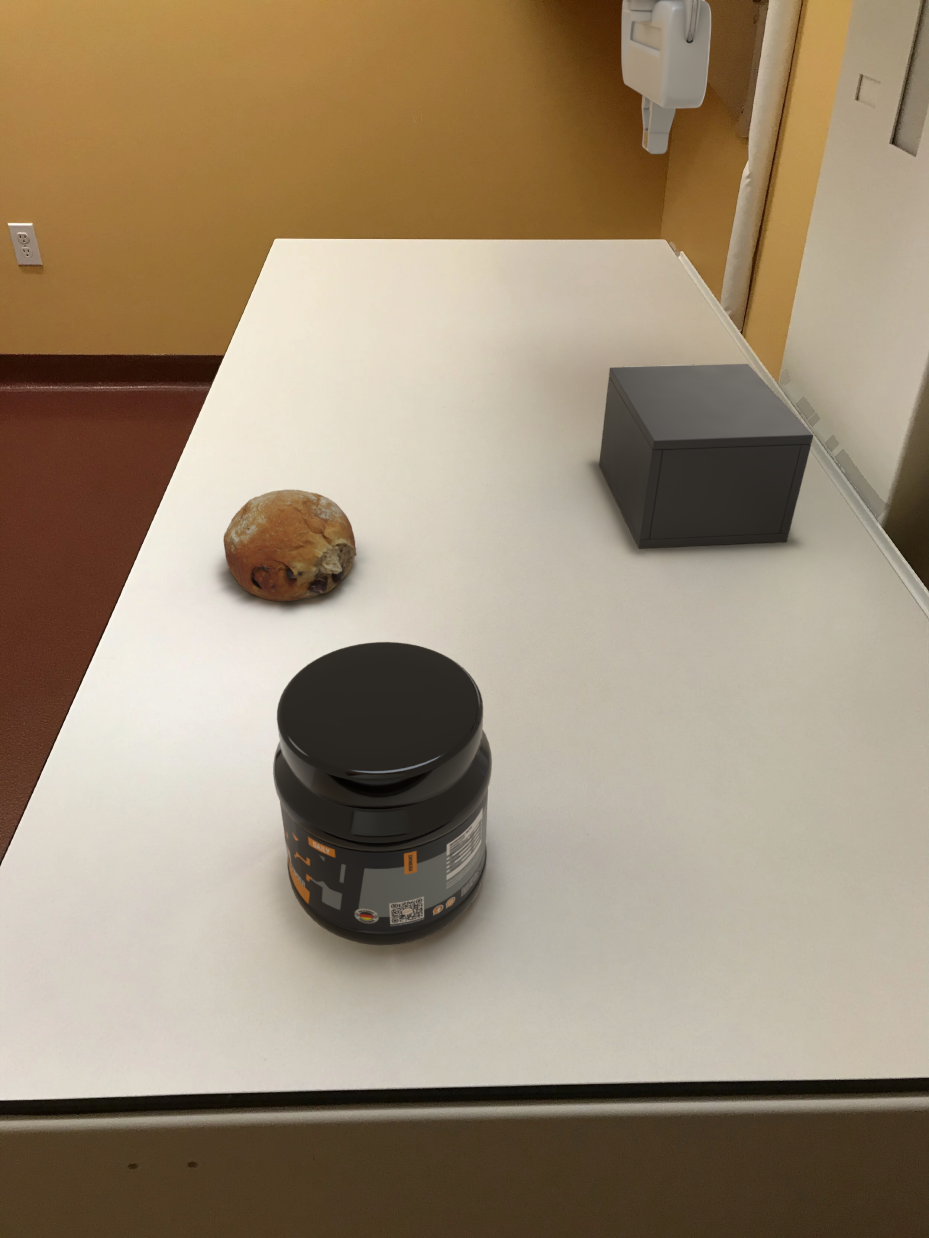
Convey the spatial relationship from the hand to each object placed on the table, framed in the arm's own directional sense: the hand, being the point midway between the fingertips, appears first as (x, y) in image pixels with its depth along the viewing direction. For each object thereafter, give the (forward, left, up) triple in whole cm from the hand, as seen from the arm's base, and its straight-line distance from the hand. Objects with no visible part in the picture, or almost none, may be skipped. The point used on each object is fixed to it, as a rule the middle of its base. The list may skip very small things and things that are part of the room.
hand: (654, 151), depth 90 cm
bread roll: (+34, +32, -24) cm, 53 cm away
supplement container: (+28, +62, -24) cm, 72 cm away
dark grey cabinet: (0, +24, -24) cm, 34 cm away
